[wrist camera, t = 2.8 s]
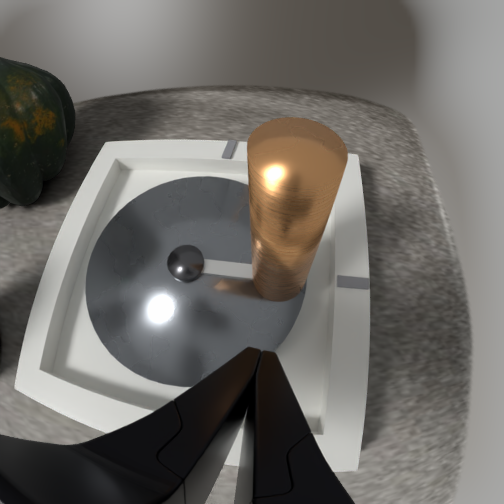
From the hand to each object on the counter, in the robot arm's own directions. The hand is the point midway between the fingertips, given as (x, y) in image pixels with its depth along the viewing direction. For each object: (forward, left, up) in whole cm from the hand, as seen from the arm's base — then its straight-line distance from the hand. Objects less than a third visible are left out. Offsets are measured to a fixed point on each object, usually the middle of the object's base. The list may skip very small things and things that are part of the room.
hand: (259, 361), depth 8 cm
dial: (+5, +5, -7) cm, 10 cm away
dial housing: (+5, +5, -8) cm, 11 cm away
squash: (+14, +26, -8) cm, 30 cm away
